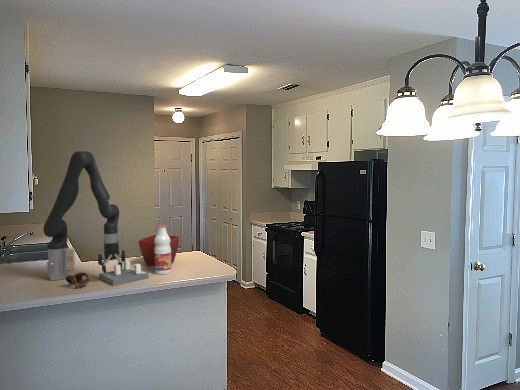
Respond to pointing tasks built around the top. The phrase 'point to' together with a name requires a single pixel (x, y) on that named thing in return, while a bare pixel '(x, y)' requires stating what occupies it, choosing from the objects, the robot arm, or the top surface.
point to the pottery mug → (77, 279)
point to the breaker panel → (123, 276)
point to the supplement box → (70, 258)
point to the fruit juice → (162, 251)
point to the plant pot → (149, 245)
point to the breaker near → (137, 268)
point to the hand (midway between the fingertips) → (112, 270)
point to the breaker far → (127, 264)
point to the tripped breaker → (117, 269)
